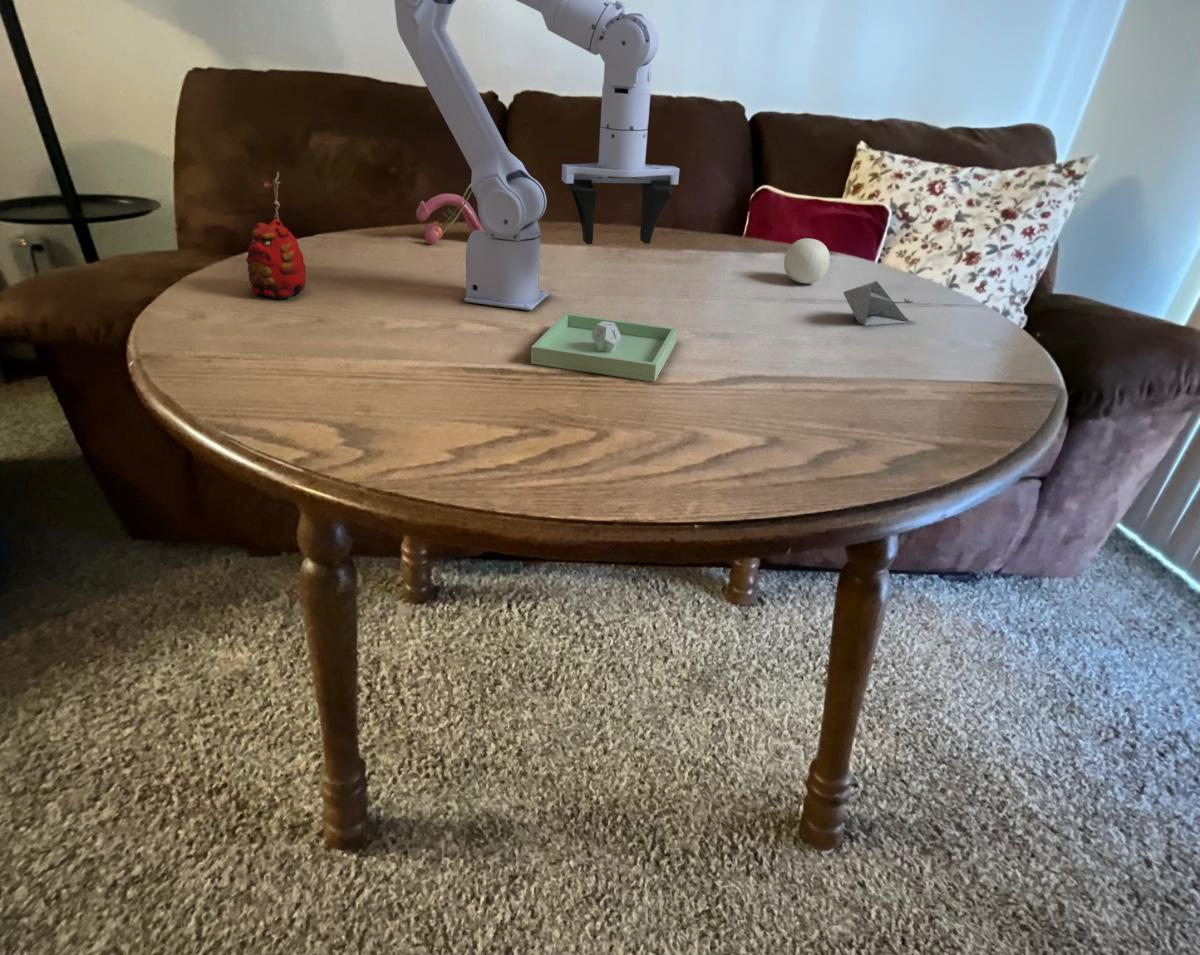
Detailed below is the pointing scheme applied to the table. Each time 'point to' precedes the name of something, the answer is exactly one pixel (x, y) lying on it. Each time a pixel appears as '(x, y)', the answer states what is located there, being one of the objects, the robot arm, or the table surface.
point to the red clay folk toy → (275, 257)
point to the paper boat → (874, 305)
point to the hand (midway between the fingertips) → (616, 242)
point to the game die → (606, 336)
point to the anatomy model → (434, 229)
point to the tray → (630, 359)
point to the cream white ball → (807, 260)
